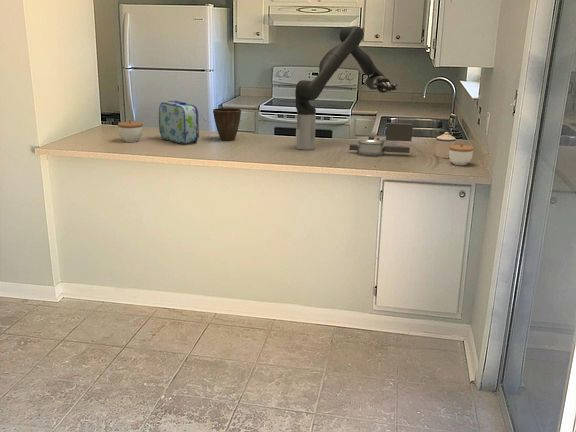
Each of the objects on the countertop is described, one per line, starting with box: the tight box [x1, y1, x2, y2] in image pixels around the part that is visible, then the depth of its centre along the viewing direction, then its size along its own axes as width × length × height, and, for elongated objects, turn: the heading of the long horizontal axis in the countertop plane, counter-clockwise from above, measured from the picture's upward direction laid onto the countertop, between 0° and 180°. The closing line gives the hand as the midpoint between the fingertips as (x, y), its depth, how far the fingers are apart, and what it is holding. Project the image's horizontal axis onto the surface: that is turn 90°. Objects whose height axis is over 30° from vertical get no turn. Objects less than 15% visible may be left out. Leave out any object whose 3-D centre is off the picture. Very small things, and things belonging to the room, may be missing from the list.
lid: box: [356, 122, 414, 144], centre depth 283 cm, size 26×14×9 cm, turn 81°
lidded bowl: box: [117, 119, 144, 143], centre depth 307 cm, size 13×13×11 cm
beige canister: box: [434, 131, 457, 159], centre depth 283 cm, size 12×9×12 cm
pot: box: [348, 141, 411, 157], centre depth 286 cm, size 28×13×6 cm, turn 96°
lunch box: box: [158, 100, 200, 145], centre depth 307 cm, size 26×11×21 cm, turn 42°
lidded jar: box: [448, 142, 474, 166], centre depth 267 cm, size 11×11×9 cm
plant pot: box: [212, 107, 242, 142], centre depth 314 cm, size 15×15×16 cm
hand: (389, 88), depth 293 cm, fingers closed
